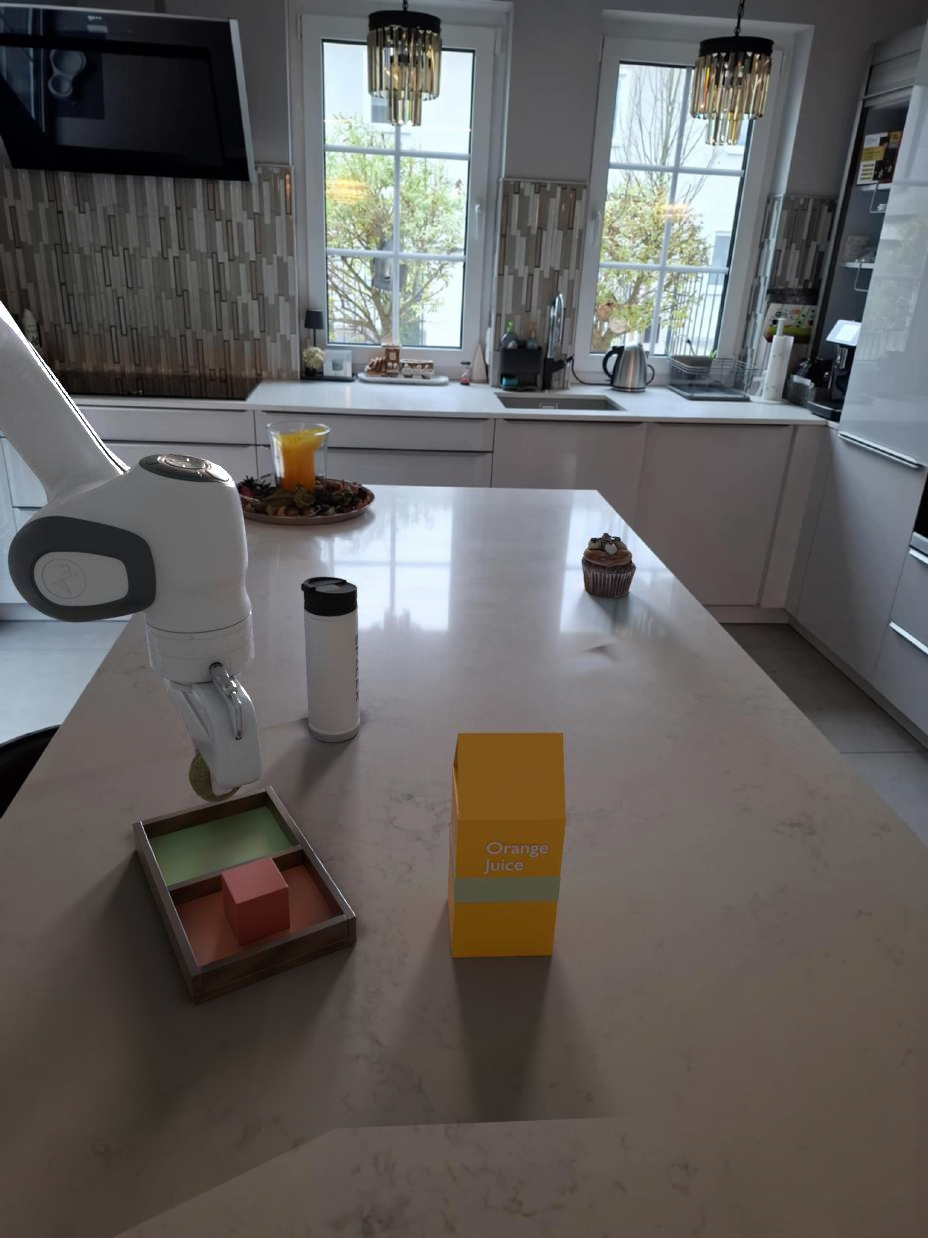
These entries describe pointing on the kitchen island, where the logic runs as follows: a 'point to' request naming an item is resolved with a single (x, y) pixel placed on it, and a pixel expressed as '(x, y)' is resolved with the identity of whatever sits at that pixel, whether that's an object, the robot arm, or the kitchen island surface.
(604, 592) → the cupcake
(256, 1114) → the kitchen island surface
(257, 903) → the red block
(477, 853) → the orange juice
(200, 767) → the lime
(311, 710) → the travel mug
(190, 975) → the sorting tray
